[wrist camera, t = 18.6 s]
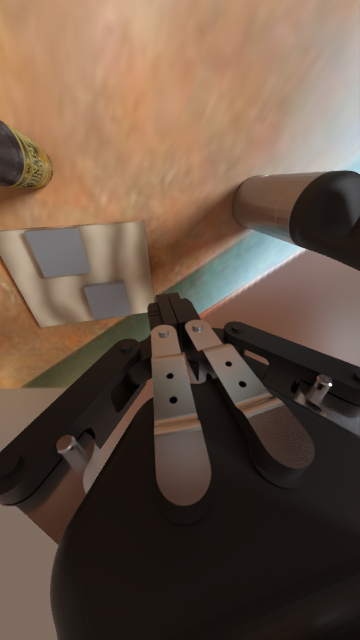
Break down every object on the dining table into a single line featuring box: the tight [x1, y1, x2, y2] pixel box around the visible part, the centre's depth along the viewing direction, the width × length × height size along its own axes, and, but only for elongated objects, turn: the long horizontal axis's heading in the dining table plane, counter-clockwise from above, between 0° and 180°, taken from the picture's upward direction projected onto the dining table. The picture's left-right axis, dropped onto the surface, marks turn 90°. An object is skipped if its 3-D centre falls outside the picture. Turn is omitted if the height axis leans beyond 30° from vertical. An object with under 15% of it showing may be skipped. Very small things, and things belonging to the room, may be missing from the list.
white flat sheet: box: [0, 221, 154, 328], centre depth 41 cm, size 26×20×2 cm
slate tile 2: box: [84, 280, 131, 320], centre depth 43 cm, size 2×8×8 cm
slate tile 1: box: [24, 227, 91, 278], centre depth 36 cm, size 2×8×8 cm
